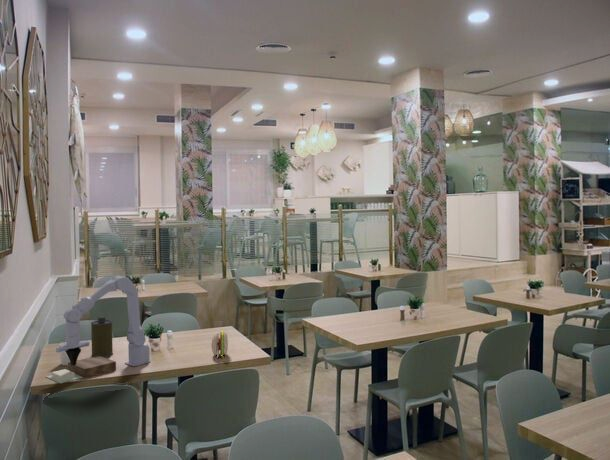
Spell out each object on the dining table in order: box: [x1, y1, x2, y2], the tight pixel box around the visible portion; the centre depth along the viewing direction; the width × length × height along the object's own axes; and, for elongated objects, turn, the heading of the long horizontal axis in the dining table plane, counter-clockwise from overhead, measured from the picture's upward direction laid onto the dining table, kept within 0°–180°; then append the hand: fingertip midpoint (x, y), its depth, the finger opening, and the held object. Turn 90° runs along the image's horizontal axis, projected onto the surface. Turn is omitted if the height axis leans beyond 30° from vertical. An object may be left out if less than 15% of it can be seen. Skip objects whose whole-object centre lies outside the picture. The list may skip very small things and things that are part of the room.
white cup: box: [58, 341, 70, 366], centre depth 253 cm, size 8×8×10 cm
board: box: [67, 356, 117, 379], centre depth 241 cm, size 15×16×4 cm
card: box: [51, 368, 75, 381], centre depth 231 cm, size 6×9×2 cm, turn 50°
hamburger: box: [211, 329, 229, 359], centre depth 266 cm, size 12×8×12 cm
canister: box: [90, 315, 114, 358], centre depth 267 cm, size 11×10×20 cm
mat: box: [45, 374, 84, 384], centre depth 231 cm, size 10×14×1 cm
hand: (73, 364), depth 235 cm, fingers closed
